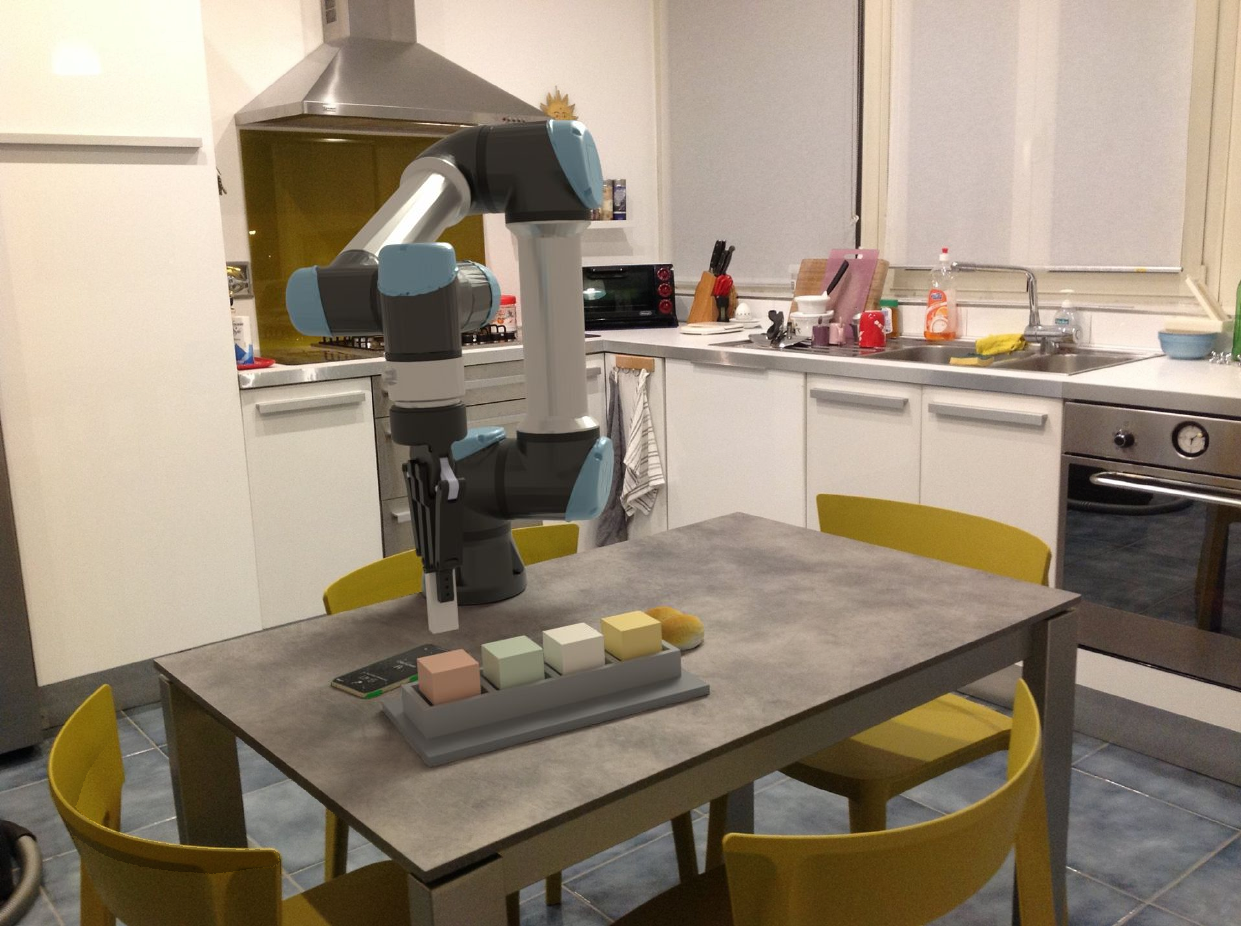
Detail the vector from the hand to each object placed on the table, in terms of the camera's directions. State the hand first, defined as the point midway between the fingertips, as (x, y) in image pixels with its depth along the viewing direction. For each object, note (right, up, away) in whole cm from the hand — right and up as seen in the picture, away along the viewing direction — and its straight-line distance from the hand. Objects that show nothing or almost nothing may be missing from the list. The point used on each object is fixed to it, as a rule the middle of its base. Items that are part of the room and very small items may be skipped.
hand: (443, 629), depth 116 cm
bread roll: (+24, -5, +25) cm, 35 cm away
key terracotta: (0, -7, +2) cm, 7 cm away
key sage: (+7, -6, +5) cm, 10 cm away
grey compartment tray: (+10, -9, +7) cm, 15 cm away
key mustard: (+19, -4, +11) cm, 23 cm away
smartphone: (-8, -8, +18) cm, 21 cm away
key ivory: (+13, -5, +8) cm, 16 cm away
